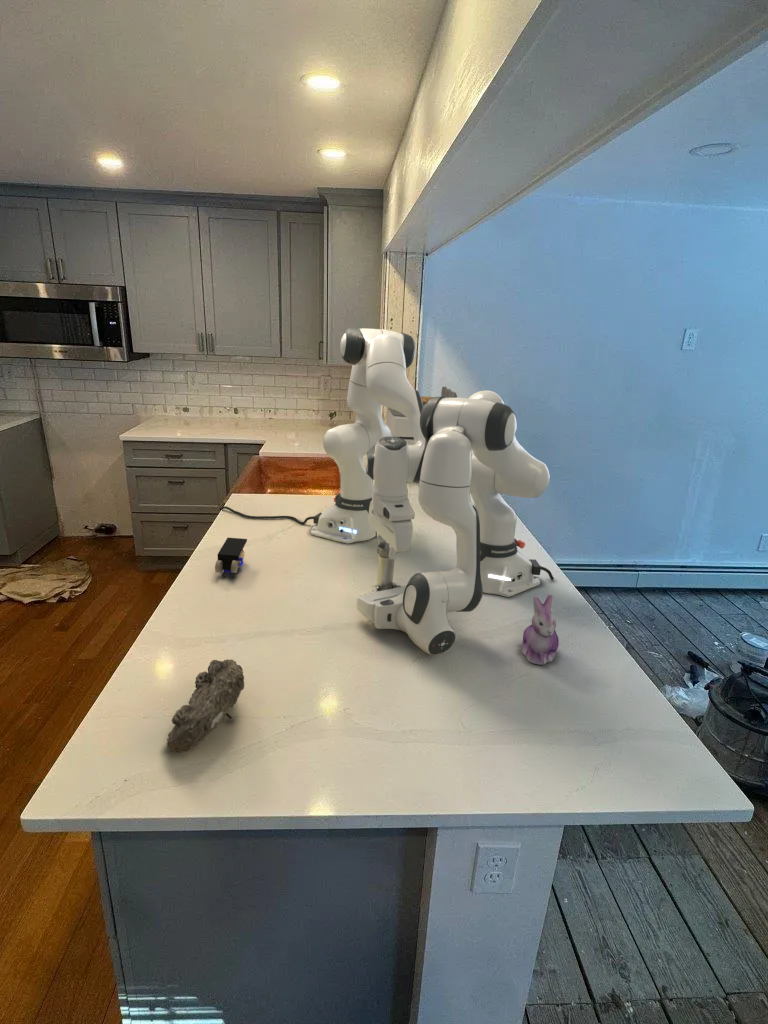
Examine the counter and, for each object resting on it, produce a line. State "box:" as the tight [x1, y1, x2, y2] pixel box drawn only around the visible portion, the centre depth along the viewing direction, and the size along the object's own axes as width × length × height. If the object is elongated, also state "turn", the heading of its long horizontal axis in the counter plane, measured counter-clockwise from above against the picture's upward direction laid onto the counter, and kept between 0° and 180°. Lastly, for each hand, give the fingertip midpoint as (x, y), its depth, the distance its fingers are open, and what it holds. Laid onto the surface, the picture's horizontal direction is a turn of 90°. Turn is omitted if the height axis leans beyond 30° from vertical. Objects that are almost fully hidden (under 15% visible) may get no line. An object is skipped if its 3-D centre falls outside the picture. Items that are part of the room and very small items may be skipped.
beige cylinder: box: [376, 555, 395, 591], centre depth 149 cm, size 4×4×17 cm
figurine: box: [521, 594, 560, 666], centre depth 130 cm, size 9×10×15 cm
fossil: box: [166, 658, 245, 754], centre depth 106 cm, size 22×10×15 cm
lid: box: [376, 542, 390, 557], centre depth 146 cm, size 5×5×2 cm
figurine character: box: [214, 537, 248, 578], centre depth 166 cm, size 7×8×15 cm
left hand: (387, 553), depth 146 cm, fingers closed on lid, 5 cm apart
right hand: (383, 586), depth 150 cm, fingers closed on beige cylinder, 4 cm apart
